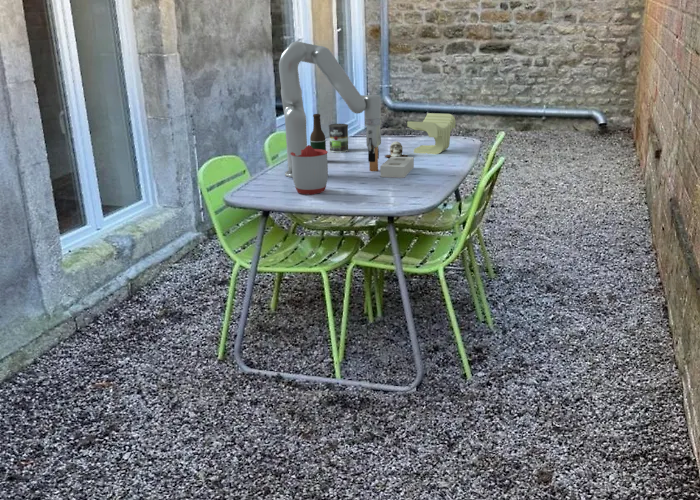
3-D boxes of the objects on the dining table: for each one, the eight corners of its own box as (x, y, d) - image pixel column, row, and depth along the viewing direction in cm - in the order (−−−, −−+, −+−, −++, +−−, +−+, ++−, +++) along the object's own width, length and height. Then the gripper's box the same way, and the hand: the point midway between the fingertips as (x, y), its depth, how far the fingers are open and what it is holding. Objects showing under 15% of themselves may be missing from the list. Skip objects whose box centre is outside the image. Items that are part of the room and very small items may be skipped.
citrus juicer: (306, 185, 319) (304, 140, 312) (336, 190, 308) (335, 143, 302) (282, 192, 307) (279, 146, 301) (312, 198, 297) (309, 150, 290)
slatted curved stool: (436, 157, 367) (437, 122, 361) (407, 155, 374) (407, 121, 368) (455, 147, 392) (455, 114, 387) (427, 145, 399) (427, 113, 393)
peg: (376, 171, 341) (376, 142, 336) (368, 171, 342) (368, 141, 337) (378, 169, 344) (378, 140, 340) (370, 169, 345) (370, 140, 341)
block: (404, 177, 326) (404, 166, 325) (380, 177, 329) (380, 166, 328) (413, 167, 346) (413, 157, 345) (391, 166, 349) (391, 156, 348)
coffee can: (345, 153, 386) (344, 126, 382) (327, 152, 389) (326, 126, 385) (351, 149, 395) (350, 123, 391) (333, 148, 398) (332, 123, 394)
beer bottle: (327, 160, 370) (325, 112, 362) (325, 163, 362) (323, 115, 355) (312, 160, 371) (310, 113, 363) (310, 163, 363) (307, 115, 356)
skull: (409, 156, 366) (395, 142, 365) (394, 170, 370) (380, 155, 368) (410, 151, 377) (397, 137, 376) (396, 164, 381) (382, 150, 379)
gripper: (376, 125, 327) (376, 164, 333) (385, 119, 342) (385, 156, 348) (360, 124, 329) (361, 163, 335) (369, 119, 344) (370, 156, 350)
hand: (373, 159), depth 341 cm, fingers open, 5 cm apart
